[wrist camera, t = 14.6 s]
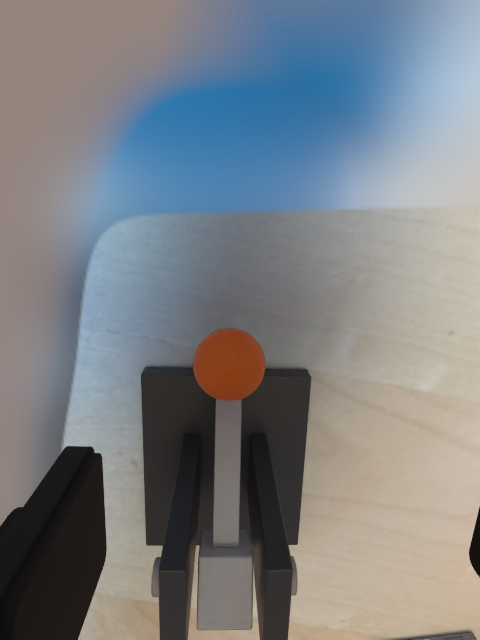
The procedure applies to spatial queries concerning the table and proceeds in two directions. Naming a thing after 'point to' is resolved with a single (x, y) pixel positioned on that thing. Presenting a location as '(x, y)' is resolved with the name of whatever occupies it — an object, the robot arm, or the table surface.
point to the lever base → (198, 487)
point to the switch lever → (227, 481)
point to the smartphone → (451, 637)
